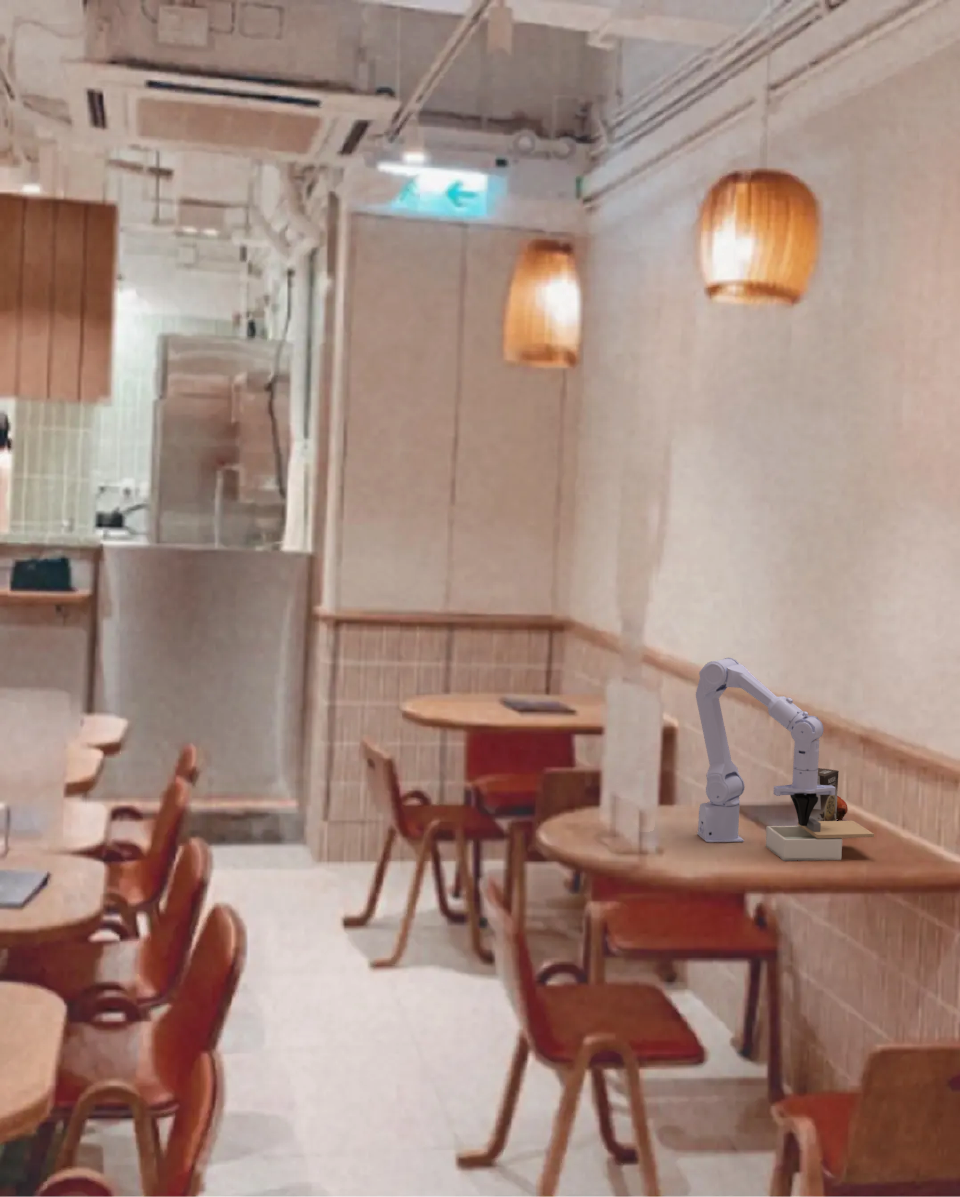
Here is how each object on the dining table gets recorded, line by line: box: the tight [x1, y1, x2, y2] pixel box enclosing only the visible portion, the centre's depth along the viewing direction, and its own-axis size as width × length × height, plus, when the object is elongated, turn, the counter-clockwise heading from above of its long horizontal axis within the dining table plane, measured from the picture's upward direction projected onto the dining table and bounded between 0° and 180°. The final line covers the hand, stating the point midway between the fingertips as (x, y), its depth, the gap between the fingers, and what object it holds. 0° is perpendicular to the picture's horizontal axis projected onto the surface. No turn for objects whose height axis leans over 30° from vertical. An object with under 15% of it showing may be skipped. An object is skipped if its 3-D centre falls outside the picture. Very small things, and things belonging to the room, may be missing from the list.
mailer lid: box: [797, 817, 875, 839], centre depth 325 cm, size 14×12×3 cm
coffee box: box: [810, 767, 839, 821], centre depth 341 cm, size 9×6×16 cm
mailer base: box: [765, 825, 843, 862], centre depth 324 cm, size 14×12×5 cm
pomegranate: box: [836, 795, 848, 821], centre depth 355 cm, size 7×7×10 cm
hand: (802, 824), depth 324 cm, fingers closed
